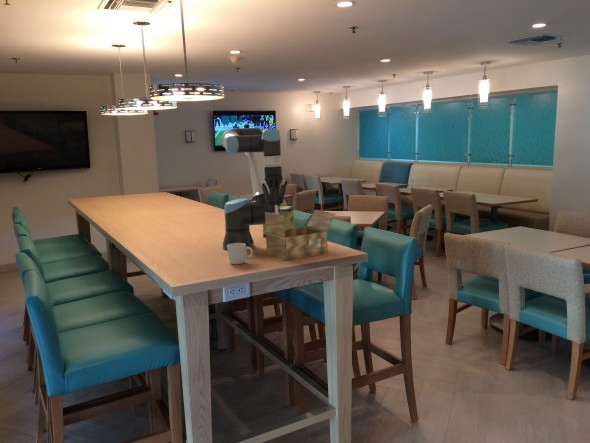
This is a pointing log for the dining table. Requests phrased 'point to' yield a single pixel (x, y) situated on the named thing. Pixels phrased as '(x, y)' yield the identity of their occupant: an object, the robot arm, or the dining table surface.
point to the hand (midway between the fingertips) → (275, 220)
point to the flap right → (321, 219)
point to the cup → (238, 253)
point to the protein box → (288, 218)
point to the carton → (297, 243)
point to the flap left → (275, 224)
